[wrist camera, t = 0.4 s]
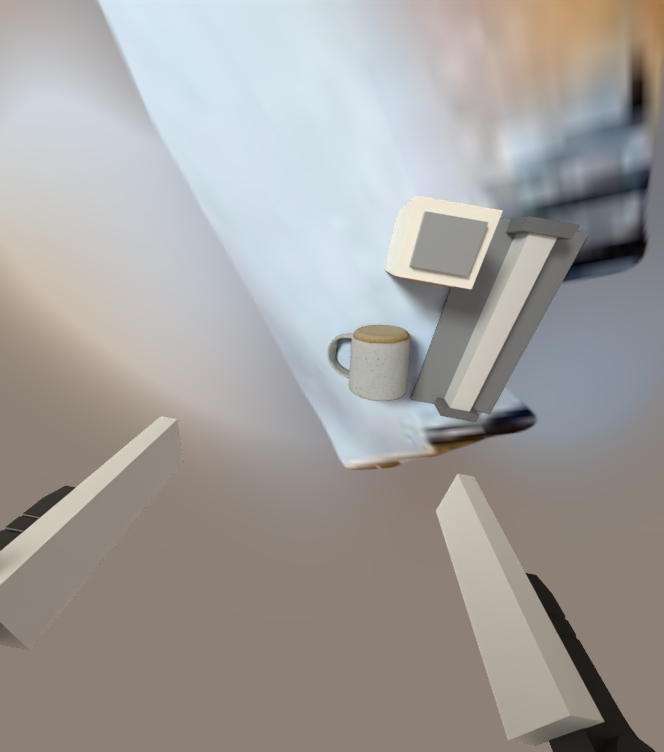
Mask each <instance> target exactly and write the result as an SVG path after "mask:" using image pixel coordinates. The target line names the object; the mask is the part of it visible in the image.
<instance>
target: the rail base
mask: <svg viewBox="0 0 664 752" xmlns="http://www.w3.org/2000/svg"><path fill="white" fill-rule="evenodd" d="M578 227H579V225H577V224H571V223H565V222H560V221H554V220H548V219H543V218H537V217H531V216H526V217H522V218H517V219H512V220H509V219H504V218H500V219H499V222H498V224H497V227H496V229H495V232H494V234H493V237H492V239H491V242H490V244H489V247H488V249H487V252H486V254H485V257H484V259H483V262H482V264H481V267H480V270H479V272H478V275H477V277H476V280H475V282H474V285H473V287H472V289H466V288H461V287H455V286H454V287H451V288H450V291H449V294H448V296H447V299H446V302H445V305H444V307H443V310H442V313H441V316H440V319H439V321H438V324H437V327H436V330H435V333H434V335H433V338H432V341H431V344H430V346H429V349H428V352H427V355H426V358H425V360H424V363H423V366H422V369H421V371H420V374H419V377H418V380H417V383H416V385H415V388H414V391H413V394H412V397H411V400H415V401H421V402H426V403H432V404H435V406H436V408H437V410H438V412H439V414H440V416H446V417H451V418H457V419H463V420H468V421H474V422H476V420H477V418H478V416H479V414H478V413H477V412H482V413H488V414H490V412H491V410H492V408H493V406H494V405H495V403H496V401H497V399H498V397H499V396H500V394H501V392H502V390H503V388H504V387H505V385H506V383H507V381H508V379H509V377H510V376H511V374H512V372H513V370H514V368H515V366H516V365H517V363H518V361H519V359H520V357H521V356H522V354H523V352H524V350H525V348H526V347H527V345H528V343H529V341H530V339H531V337H532V336H533V334H534V332H535V330H536V329H537V327H538V325H539V323H540V321H541V319H542V318H543V316H544V314H545V312H546V310H547V308H548V307H549V305H550V303H551V301H552V299H553V297H554V296H555V294H556V292H557V290H558V288H559V287H560V285H561V283H562V281H563V280H564V278H565V276H566V274H567V272H568V270H569V269H570V267H571V265H572V263H573V261H574V260H575V258H576V256H577V254H578V252H579V251H580V249H581V247H582V245H583V243H584V241H585V240H586V238H587V236H588V234H589V233H583V232H578V231H577V229H578ZM476 411H477V412H476Z"/></svg>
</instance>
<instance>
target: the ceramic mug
mask: <svg viewBox="0 0 664 752" xmlns="http://www.w3.org/2000/svg"><path fill="white" fill-rule="evenodd" d="M341 338H351V339H352V341H351V360H350V371H348V370H346V369H344V368H342V367H341V366H340V365H339V364H338V363H337V361H336V358H335V355H336V347H337V346H338V345H337V341H338V340H339V339H341ZM409 356H410V336H409V334H408V332H407V331H406V330H404V329H403V328H400V327H395V326H388V325H371V326H364V327H361V328H359V329H357V330H356V331H355V332H354V334H352V333H347V334H342V335H339V336H337V337H336V338H334V339H333V340H332V342H331V343H330V345H329V347H328V360H329V363H330V365H331V366H332V368H333V369H334V370H335V371H336V372H338V373H339V374H341V375H343V376H345V377H347V378H349V389H350V390H351V391H352V392H353V393H354V394H355V395H357V396H359V397H361V398H364V399H368V400H373V401H390V400H395V399H398V398H400V397H402V396H403V395H404V394H405V393H406V391H407V380H408V370H409Z"/></svg>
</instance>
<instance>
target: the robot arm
mask: <svg viewBox="0 0 664 752" xmlns="http://www.w3.org/2000/svg"><path fill="white" fill-rule="evenodd" d="M182 464H183V456H182V449H181V443H180V436H179V429H178V423H177V419H172V418H167V417H162V416H161V417H159V418H158V419H157V420H156V421H155V422H153V423H152V424H151V425H150V426H149V427H147V428H146V429H145V430H144V431H143V432H142V433H140V434H139V435H138V436H137V437H136V438H134V439H133V440H132V441H131V442H130V443H128V444H127V445H126V446H125V447H124V448H122V449H121V450H120V451H119V452H118V453H117V454H115V455H114V456H113V457H112V458H111V459H109V460H108V461H107V462H106V463H105V464H103V465H102V466H101V467H100V468H99V469H98V470H96V471H95V472H94V473H93V474H92V475H90V476H89V477H88V478H87V479H86V480H84V481H83V482H82V483H81V484H80V485H78V486H77V487H76V488H75V487H69V486H64V487H62V488H60V489H59V490H57V491H55V492H53V493H51V494H49V495H47V496H45V497H44V498H42V499H41V500H40V501H38V502H37V503H36V504H35V505H33V506H32V507H31V508H29V509H28V510H27V511H26V512H24V513H23V515H22V516H21V517H18V518H17V519H15V520H14V521H13V522H12V523H10V524H9V525H8V526H7V527H6V529H5V530H1V531H0V644H1V645H5V646H11V647H16V648H22V649H26V650H30V649H31V648H32V647H33V645H34V644H35V643H36V642H37V641H38V639H39V638H40V637H41V636H42V634H43V633H44V632H45V631H46V630H47V628H48V627H49V626H50V625H51V623H52V622H53V621H54V620H55V619H56V617H57V616H58V615H59V613H60V612H61V611H62V610H63V609H64V608H65V606H66V605H67V604H68V603H69V601H70V600H71V599H72V598H73V597H74V595H75V594H76V593H77V592H78V590H79V589H80V588H81V587H82V586H83V584H84V583H85V582H86V581H87V579H88V578H89V577H90V576H91V574H92V573H93V572H94V571H95V570H96V568H97V567H98V566H99V565H100V564H101V562H102V561H103V560H104V558H105V557H106V556H107V555H108V554H109V553H110V551H111V550H112V549H113V548H114V546H115V545H116V544H117V543H118V542H119V540H120V539H121V538H122V537H123V535H124V534H125V533H126V532H127V530H128V529H129V528H130V527H131V526H132V525H133V523H134V522H135V521H136V520H137V518H138V517H139V516H140V515H141V514H142V512H143V511H144V510H145V509H146V508H147V506H148V505H149V504H150V503H151V501H152V500H153V499H154V498H155V497H156V495H157V494H158V493H159V492H160V490H161V489H162V488H163V487H164V486H165V484H166V483H167V482H168V481H169V479H170V478H171V477H172V476H173V475H174V473H175V472H176V471H177V470H178V468H179V467H180V466H181V465H182ZM436 513H437V516H438V519H439V522H440V525H441V529H442V532H443V535H444V538H445V541H446V544H447V548H448V551H449V554H450V557H451V560H452V564H453V566H454V570H455V573H456V576H457V579H458V583H459V586H460V589H461V592H462V596H463V599H464V602H465V605H466V608H467V611H468V614H469V618H470V621H471V624H472V627H473V631H474V634H475V637H476V640H477V643H478V646H479V649H480V653H481V656H482V659H483V662H484V666H485V669H486V671H487V675H488V678H489V681H490V685H491V688H492V691H493V694H494V697H495V700H496V704H497V707H498V710H499V713H500V717H501V720H502V722H503V726H504V729H505V732H506V736H507V739H508V741H514V742H520V743H524V744H529V745H535V746H536V745H539V744H542V743H545V742H548V741H549V742H550V745H551V748H552V750H553V752H655V751H654V750H653V749H652V748H651V747H649V746H648V745H647V744H645V743H644V742H643V741H642V740H640V739H639V738H638V737H637V736H636V734H635V733H634V732H633V730H632V729H631V728H630V726H629V724H628V723H627V721H626V720H625V718H624V717H623V715H622V713H621V712H620V710H619V708H618V707H617V705H616V703H615V701H614V700H613V698H612V696H611V694H610V693H609V691H608V689H607V688H606V686H605V684H604V682H603V681H602V679H601V677H600V676H599V674H598V672H597V670H596V668H595V667H594V665H593V663H592V662H591V660H590V658H589V656H588V655H587V653H586V651H585V649H584V648H583V646H582V644H581V643H580V641H579V640H578V639H577V638H576V634H575V632H574V630H573V629H572V627H571V625H570V624H569V622H568V621H567V620H566V619H565V615H564V613H563V611H562V610H561V608H560V606H559V605H558V603H557V601H556V600H555V598H554V596H553V594H552V593H551V592H550V591H549V590H548V588H547V587H546V586H545V585H544V584H543V582H542V581H541V580H540V579H539V578H538V577H537V575H533V574H528V573H525V572H524V570H523V568H522V566H521V564H520V562H519V560H518V558H517V557H516V555H515V553H514V551H513V549H512V547H511V545H510V543H509V542H508V540H507V538H506V536H505V534H504V532H503V530H502V528H501V526H500V525H499V523H498V521H497V519H496V517H495V515H494V513H493V511H492V510H491V508H490V506H489V504H488V502H487V500H486V498H485V497H484V495H483V493H482V491H481V489H480V487H479V485H478V483H477V481H476V480H475V478H474V477H473V476H468V475H463V474H457V475H456V477H455V479H454V481H453V482H452V484H451V486H450V488H449V489H448V491H447V493H446V494H445V496H444V498H443V500H442V502H441V503H440V505H439V506H438V508H437V510H436Z"/></svg>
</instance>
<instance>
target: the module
mask: <svg viewBox="0 0 664 752" xmlns="http://www.w3.org/2000/svg"><path fill="white" fill-rule="evenodd" d="M502 212H503V210H497V209H491V208H486V207H480V206H474V205H468V204H463V203H457V202H451V201H446V200H440V199H434V198H429V197H423V196H417V195H415V196H414V197H413V198H412V199H411V200H410V201H409V202H408V203H407V204H406V205H405V206H404V207H403V208H402V209H401V210H400V211H399V212H398V213H397V218H396V222H395V226H394V231H393V235H392V239H391V243H390V248H389V252H388V256H387V260H386V265H385V269H384V270H385V271H387V272H389V273H391V274H392V275H394V276H398V277H401V278H402V279H408V280H413V281H419V282H425V283H430V284H436V285H442V286H447V287H454V286H455V287H461V288H466V289H472V287H473V285H474V282H475V280H476V277H477V275H478V272H479V270H480V267H481V264H482V262H483V259H484V257H485V254H486V252H487V249H488V247H489V244H490V242H491V239H492V237H493V234H494V232H495V229H496V227H497V224H498V222H499V219H500V217H501V214H502Z"/></svg>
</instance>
